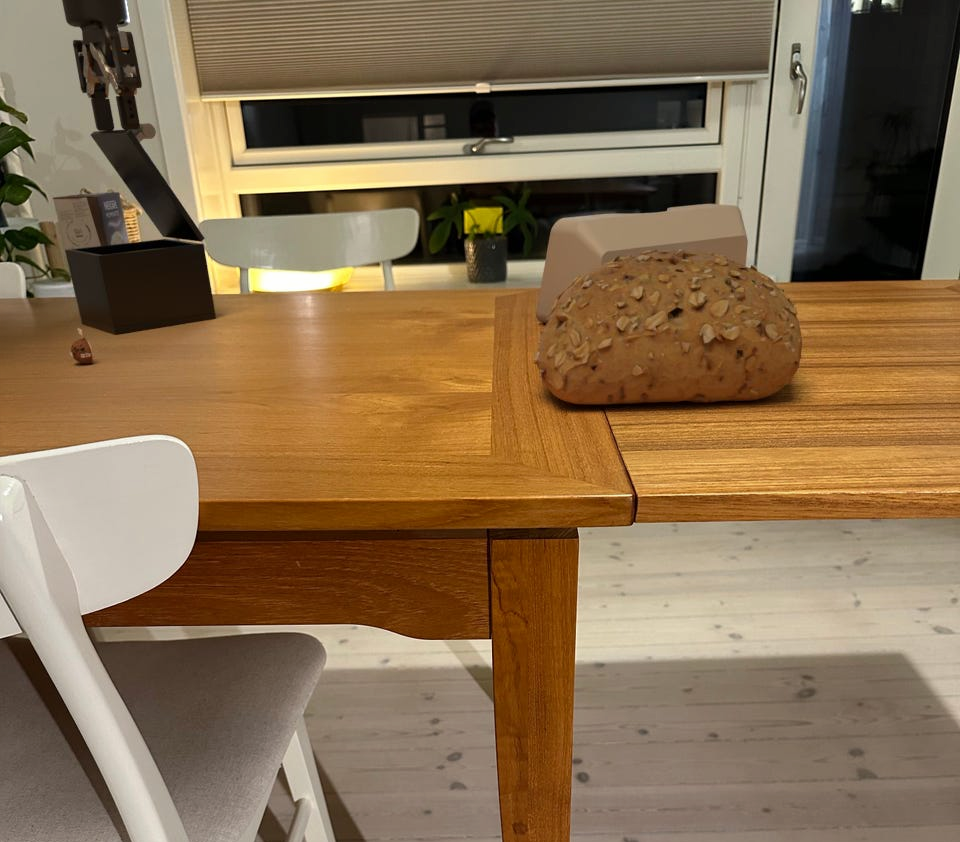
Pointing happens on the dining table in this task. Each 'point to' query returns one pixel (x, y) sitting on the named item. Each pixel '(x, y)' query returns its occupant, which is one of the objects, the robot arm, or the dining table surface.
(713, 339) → the bread
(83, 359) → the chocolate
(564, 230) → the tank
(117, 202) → the coffee box
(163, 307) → the open black box
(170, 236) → the lid
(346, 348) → the dining table surface
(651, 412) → the dining table surface
